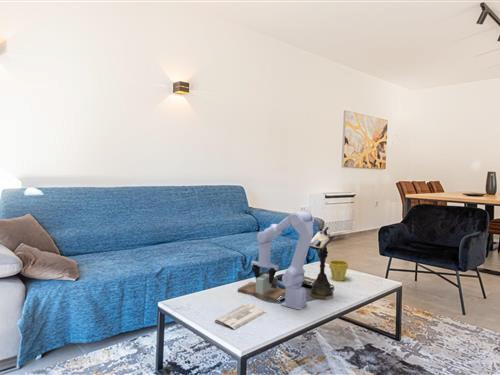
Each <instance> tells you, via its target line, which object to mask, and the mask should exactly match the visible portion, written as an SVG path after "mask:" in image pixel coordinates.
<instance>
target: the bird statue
mask: <svg viewBox="0 0 500 375" xmlns="http://www.w3.org/2000/svg"><path fill="white" fill-rule="evenodd" d="M329 229H330V227H329V226H325V227H324V229H323V232H322V231H317V233H316V234H315V235H313V237H312V240H311V243H310V246H309V249H312V250H316V251H317V255H318V257H319V259H320V264H319V272H318V274H317V276H316V279H315V280H314V282H313V284H312V287H311V289H310V291H309V297H311V298H313V299H316V300H321V301H329V300H333V299H334V292H333V291H332V290H333V289H332V288H331V283H330V281H329V280H328V276H327V274H326V273H325V268H326V259H327V257H328V254H329V251H328V248H327V246H328V245H329V243H331V241H332V240H333V239H334V238H335V237H336V235H335V234H330V232H328V230H329ZM327 232H328V233H327Z"/></svg>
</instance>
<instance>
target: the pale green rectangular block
mask: <svg viewBox="0 0 500 375" xmlns="http://www.w3.org/2000/svg"><path fill="white" fill-rule="evenodd" d="M255 283H256V293H260V294H264V293H265V292H267V291H269V290H270V289H271V284H269V275H267V274H264V273H263V274H262V276H260V277H258V278H255Z"/></svg>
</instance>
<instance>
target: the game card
mask: <svg viewBox="0 0 500 375" xmlns="http://www.w3.org/2000/svg"><path fill="white" fill-rule="evenodd" d="M264 274H267V275H269V273H268V271H264V272H260V273H259V277H260V276H262V275H264Z"/></svg>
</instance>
